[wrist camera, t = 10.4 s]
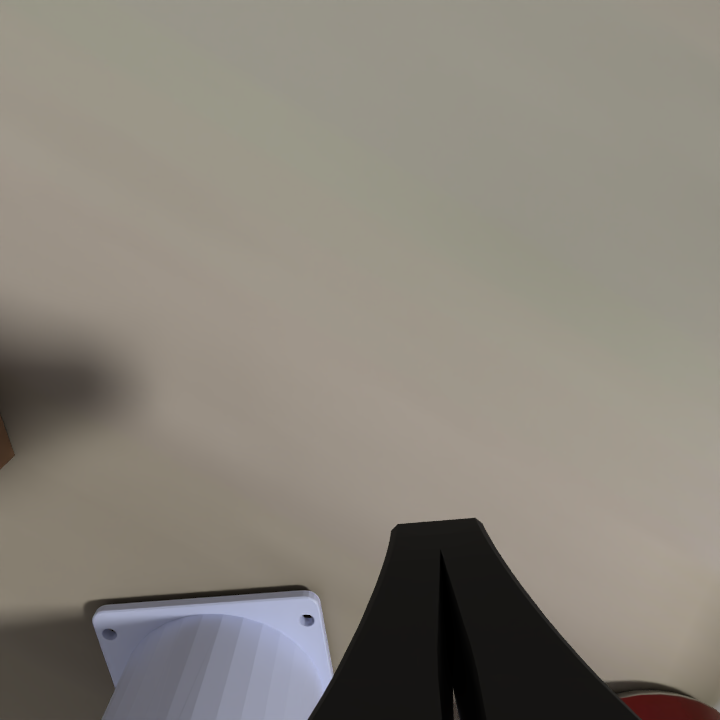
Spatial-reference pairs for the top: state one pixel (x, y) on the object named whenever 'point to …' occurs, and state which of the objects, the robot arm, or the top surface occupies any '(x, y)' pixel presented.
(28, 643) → the top surface
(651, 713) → the soda can
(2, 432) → the notched board
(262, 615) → the robot arm
